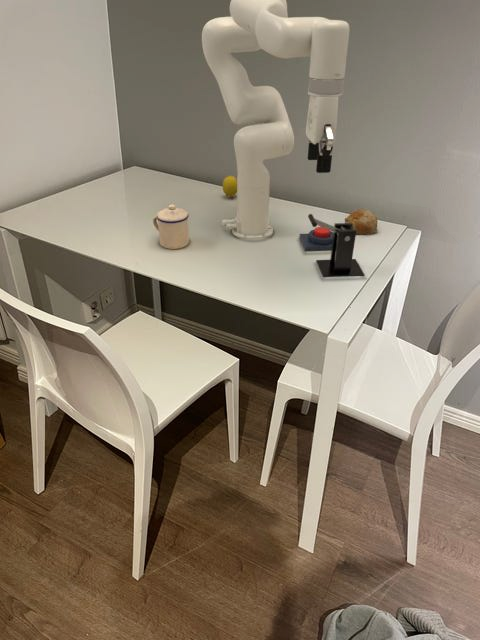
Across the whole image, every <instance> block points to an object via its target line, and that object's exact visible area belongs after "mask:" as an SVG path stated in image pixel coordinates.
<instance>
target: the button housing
mask: <svg viewBox="0 0 480 640" xmlns="http://www.w3.org/2000/svg"><path fill="white" fill-rule="evenodd" d="M333 233H334V232H333V231H330V234H329V237H327V238H319V237H316V236H314V229H311V230H309V232H308V233H299V240H300V243H301V245H302V248H303V250H304V252H327V251H328V252H329V251H330V252H331V249H332V241H333Z"/></svg>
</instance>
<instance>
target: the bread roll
mask: <svg viewBox="0 0 480 640" xmlns="http://www.w3.org/2000/svg"><path fill="white" fill-rule="evenodd" d="M344 223H351V224H352V229H351V230H356V236H363V235H364V236H371V235H374V234H376V233H378V229H377V228H378V218H377V216H376V214H374V212H373V211H370V210H369V209H358V210H355V211H353V212H351V213H349V215H347V216H346V217H345V218H344Z"/></svg>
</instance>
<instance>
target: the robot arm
mask: <svg viewBox="0 0 480 640" xmlns="http://www.w3.org/2000/svg"><path fill="white" fill-rule="evenodd" d="M229 15H230V16H221V17H215V18H213V19H210V20H209V21H207V22H206V23H205V25H204V26H203V28H202V31H201V46H202V51H203V55H204V59H205V61H206V63H207V65H208V67H209V69H210V71H211V73H212V74H213V76H214V78H215V79H216V82H217V84H218V87H219V91H220V93H221V97H222V99H223V103H224V105H225V108H226V112H227V114H228V116H229V119H230V120H231V122H232V123H233V124H235V125H236V126H237V125H238V126H244V127H241V128H240V129H239V130H237V131H236V133H235V135H234V138H233V148H234V155H235V160H236V161H235V162H236V175H237V176H236V180H237V193H236V195H237V196H236V199H237V200H236V201H237V203H236V206H237V207H236V213H237V214H236V215H235V217H234V218H232V219H221V221H222V223H221V225H222V227H226V229H231V231H232V232H231V233H232V235H233V236H235V237H236V238H238V239H251V240H252V239H253V240H254V239H269V238H270V237H272V235H273V233H274V228H273V226H272V225H270V224H269V217H270V216H269V213H270V211H269V210H270V190H271V189H270V188H271V185H270V184H271V176H270V175H271V174H270V172H269V170H268V168H267V166H265V164H264V161H268V160H273V159H279V158H283V157H286V156H288V155H291V153H292V152H293V150H294V148H295V135H294V129H293V126H292V124H291V120H290V118H289V115H288V112H287V109H286V106H285V103H284V100H283V98H282V95H281V94H280V92H279V91H278V90H277V89H276V88H275V87H273V86H271V85H260V86H259V85H258V86H254V85H252V83H251V81H250V79H249V75H248V72H247V69H245V67H244V65H243V64H242V63H241V62H240V61H239V60H238V59H237V58H235V56H233V55H232V53H249V52H251V53H252V52H256V51H259V50H262V51H264V52H266V53H267V54H270V55H271V56H272V57H273V56H274V57H276V58H280V59H294V58H295V59H296V58H310V60H309V72H308V86H307V95H308V96H309V100H308V109H307V115H306V116H307V117H306V125H305V136H306V137H307V138H308V148H307V160H308V161H316V167H315V168H316V169H315V171H316V173H317V174H329V173H331V172H332V171H331V169H332V159H333V153H334V152H333V149H334V146H333V144H334V143H335V141H336V136H337V135H336V134H337V126H338V125H337V124H338V114H339V113H338V111H339V97H342V96H343V93H344V85H345V78H346V77H345V75H346V66H347V59H348V50H349V49H348V48H349V40H350V31H351V30H350V25H349V23H348V22H347V21H345V20H341V19H329V18H326V17H322V16H297V17H296V16H295V17H293V16H291V17H289V14H288V3H287V0H230V3H229ZM245 125H246V126H245Z"/></svg>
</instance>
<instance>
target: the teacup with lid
mask: <svg viewBox="0 0 480 640" xmlns="http://www.w3.org/2000/svg"><path fill="white" fill-rule="evenodd" d="M152 225H153V226H154V228H155V230H156V231H157V232H158V237H159V244H160V246H162V247H163V248H165V249H170V250H176V249H183V248H185V247H186V246H187V245H188V244H189V243H190V232H189V213H188V211H187V210H185V209H183V208H180V207H176V205H175V204H169V205H167V207H166V208H164V209H161V210H160V211H158V212H157V213H156V215H154V216H153V218H152Z"/></svg>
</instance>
